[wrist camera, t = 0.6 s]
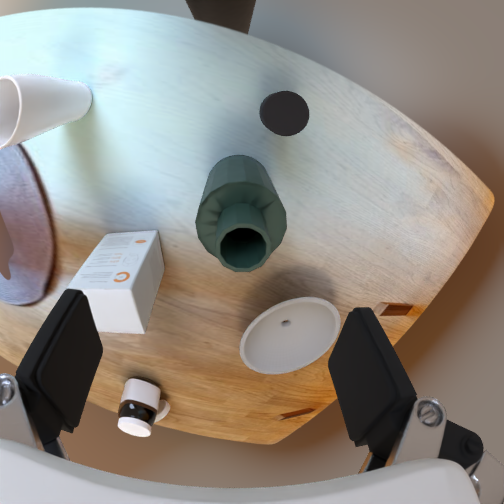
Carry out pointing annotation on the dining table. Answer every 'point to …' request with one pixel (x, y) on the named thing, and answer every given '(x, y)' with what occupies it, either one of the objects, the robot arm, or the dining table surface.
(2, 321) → the dining table surface
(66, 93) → the white cup
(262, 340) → the dish
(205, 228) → the bottle
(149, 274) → the small box
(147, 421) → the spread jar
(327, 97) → the dining table surface
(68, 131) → the dining table surface
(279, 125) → the stopper
